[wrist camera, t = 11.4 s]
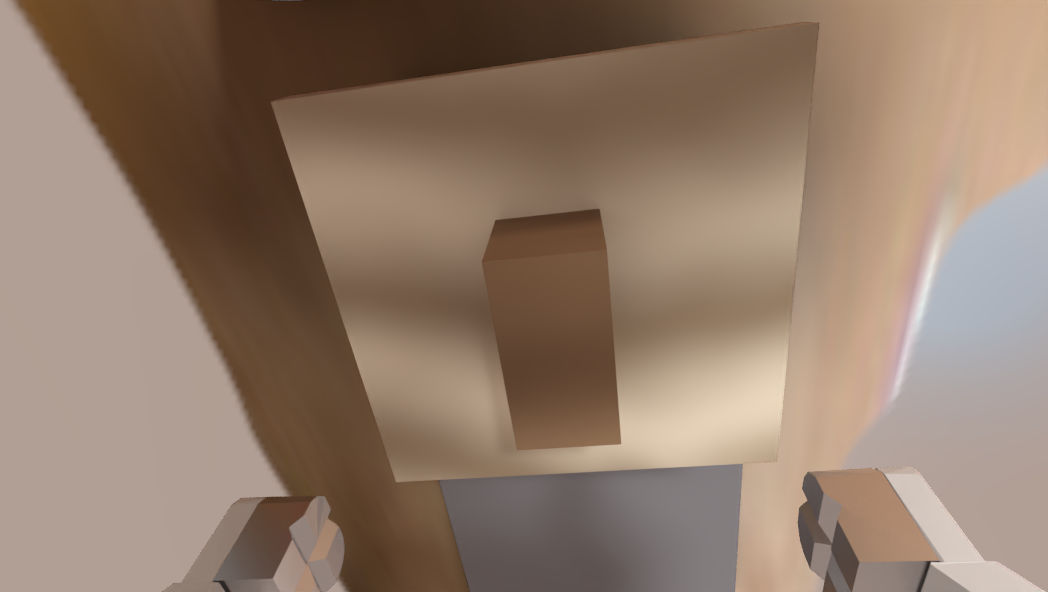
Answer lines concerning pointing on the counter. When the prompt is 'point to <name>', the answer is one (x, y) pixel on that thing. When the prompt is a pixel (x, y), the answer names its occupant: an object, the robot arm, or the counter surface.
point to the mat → (599, 530)
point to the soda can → (288, 0)
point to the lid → (568, 252)
